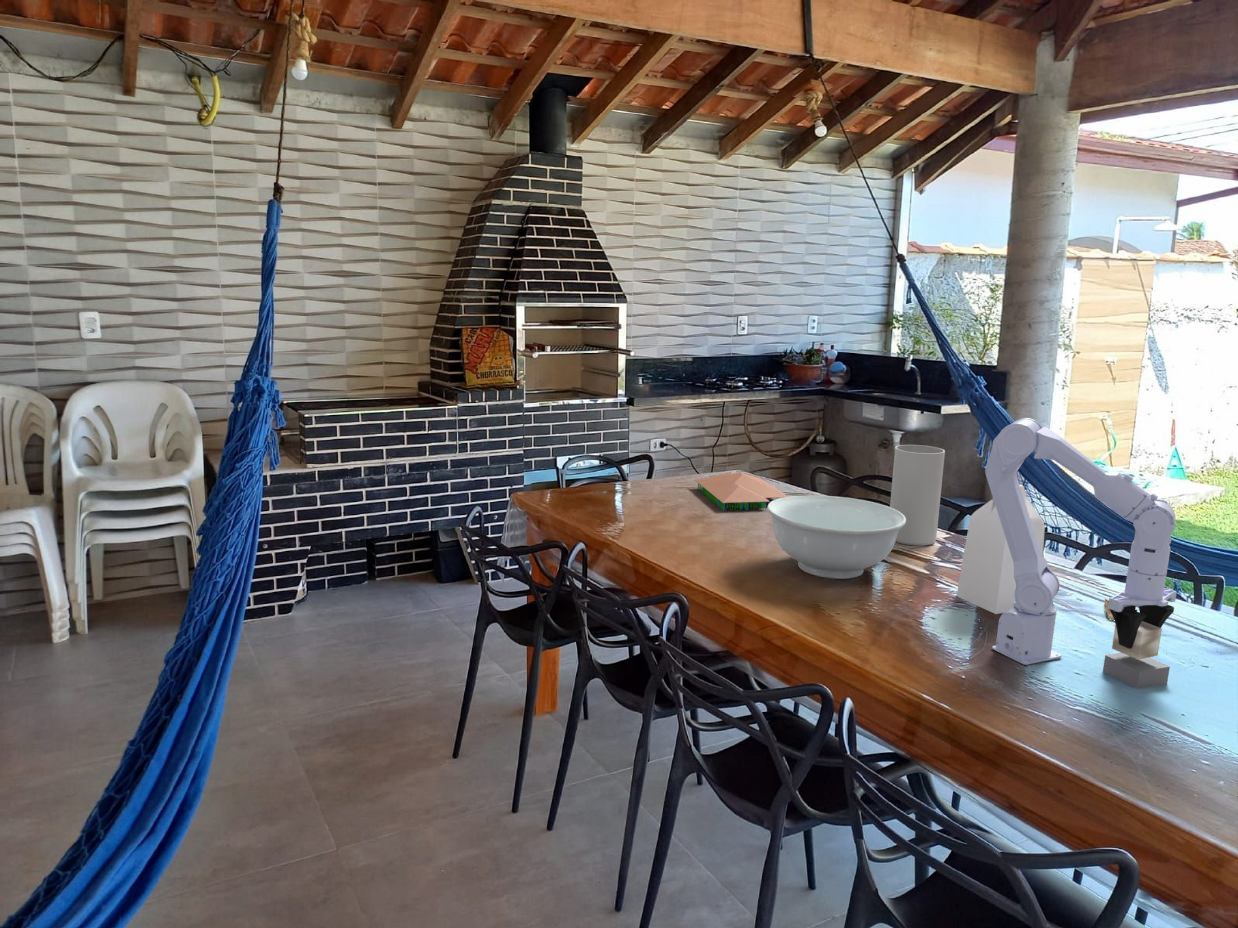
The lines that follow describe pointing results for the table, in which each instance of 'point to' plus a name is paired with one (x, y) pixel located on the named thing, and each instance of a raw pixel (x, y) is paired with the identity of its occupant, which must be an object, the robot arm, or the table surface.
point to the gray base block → (1136, 670)
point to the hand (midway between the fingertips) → (1135, 644)
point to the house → (738, 490)
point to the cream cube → (1141, 642)
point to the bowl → (834, 533)
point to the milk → (992, 559)
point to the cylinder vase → (917, 492)
